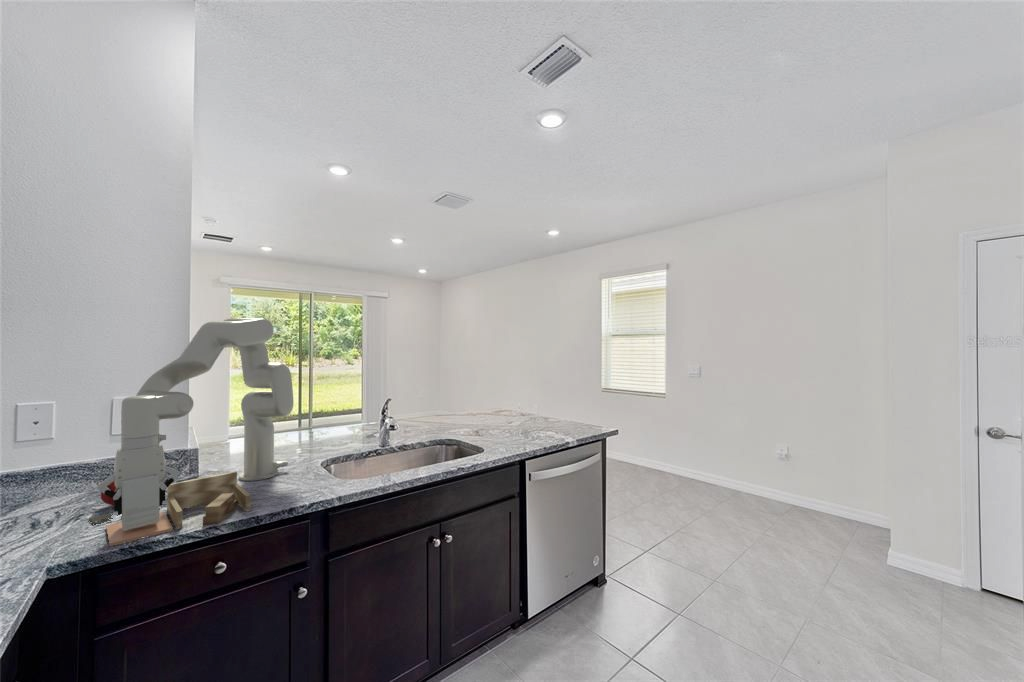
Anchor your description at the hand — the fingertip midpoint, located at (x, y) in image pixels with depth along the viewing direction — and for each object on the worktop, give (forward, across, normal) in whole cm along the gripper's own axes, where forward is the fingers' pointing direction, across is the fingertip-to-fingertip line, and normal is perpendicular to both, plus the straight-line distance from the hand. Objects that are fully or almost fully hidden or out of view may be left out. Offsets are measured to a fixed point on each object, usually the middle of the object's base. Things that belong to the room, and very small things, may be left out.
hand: (140, 508), depth 110 cm
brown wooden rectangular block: (+6, -17, +5) cm, 19 cm away
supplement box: (+4, 0, 0) cm, 4 cm away
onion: (+6, +4, -27) cm, 28 cm away
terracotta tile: (+6, 0, 0) cm, 6 cm away
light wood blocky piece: (+6, -15, -2) cm, 16 cm away
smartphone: (+6, +2, -16) cm, 17 cm away
